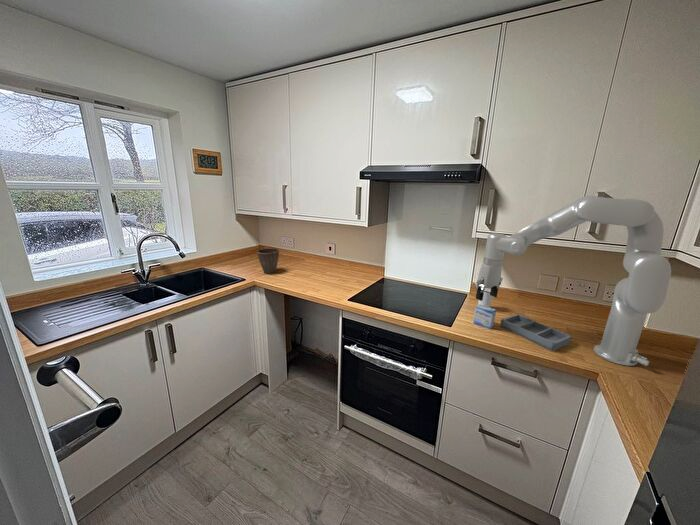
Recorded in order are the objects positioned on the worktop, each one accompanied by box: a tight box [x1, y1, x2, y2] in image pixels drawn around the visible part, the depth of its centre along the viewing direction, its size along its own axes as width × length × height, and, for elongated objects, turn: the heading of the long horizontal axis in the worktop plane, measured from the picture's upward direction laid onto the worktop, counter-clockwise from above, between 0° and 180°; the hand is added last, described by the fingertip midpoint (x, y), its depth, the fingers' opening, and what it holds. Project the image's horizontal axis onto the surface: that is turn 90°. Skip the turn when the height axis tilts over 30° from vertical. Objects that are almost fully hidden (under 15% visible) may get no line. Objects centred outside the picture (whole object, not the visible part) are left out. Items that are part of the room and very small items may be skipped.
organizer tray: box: [499, 313, 573, 352], centre depth 124 cm, size 23×13×4 cm, turn 28°
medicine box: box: [472, 304, 497, 330], centre depth 131 cm, size 8×4×9 cm, turn 45°
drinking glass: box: [477, 287, 494, 308], centre depth 148 cm, size 7×7×10 cm
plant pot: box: [256, 247, 280, 275], centre depth 201 cm, size 15×15×16 cm
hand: (486, 297), depth 129 cm, fingers open, 9 cm apart
